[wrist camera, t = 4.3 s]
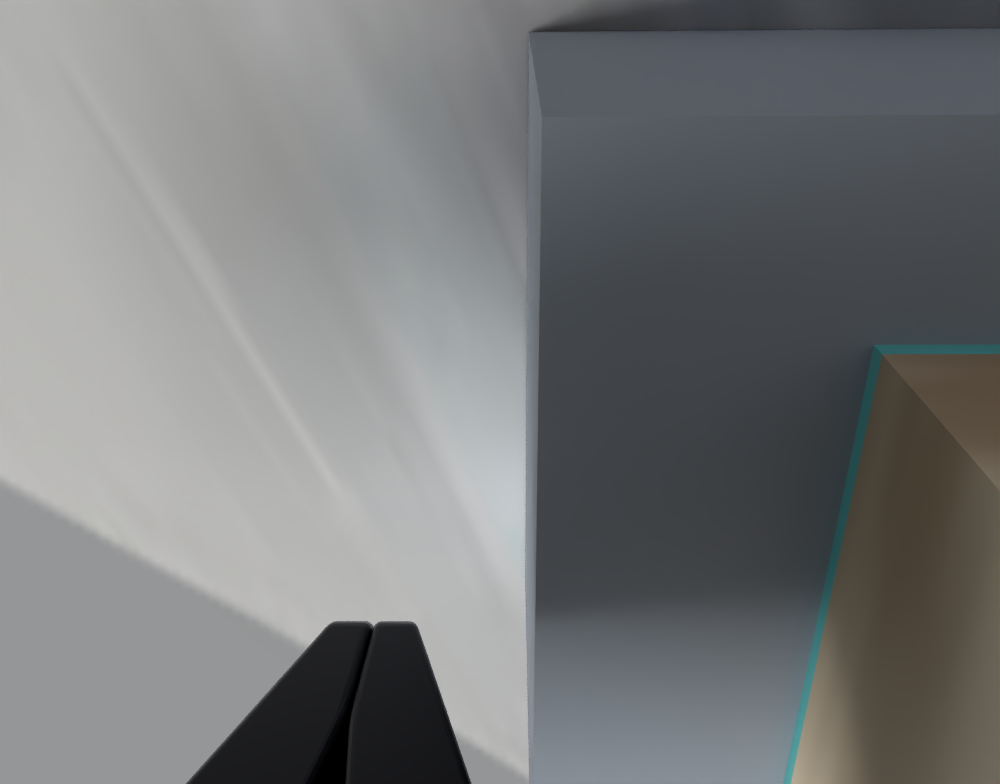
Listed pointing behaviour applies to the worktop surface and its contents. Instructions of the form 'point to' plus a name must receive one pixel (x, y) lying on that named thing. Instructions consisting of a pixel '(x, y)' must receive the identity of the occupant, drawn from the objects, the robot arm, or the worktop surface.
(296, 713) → the robot arm
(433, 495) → the worktop surface
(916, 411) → the maple cube
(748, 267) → the slate stair
